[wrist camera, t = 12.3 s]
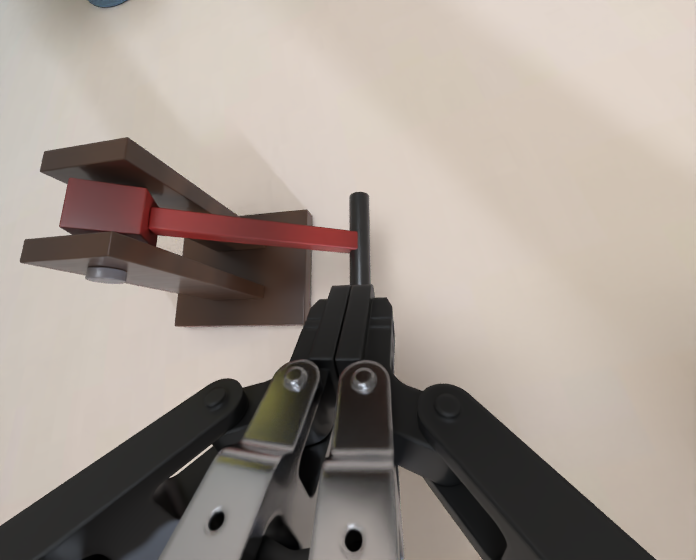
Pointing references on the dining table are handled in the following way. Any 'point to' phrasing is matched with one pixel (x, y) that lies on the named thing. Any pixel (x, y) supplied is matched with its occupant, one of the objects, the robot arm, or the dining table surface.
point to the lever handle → (208, 223)
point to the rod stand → (198, 255)
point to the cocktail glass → (106, 2)
